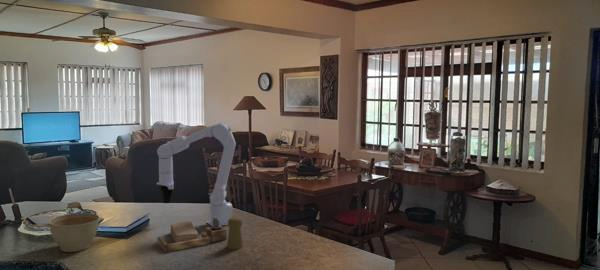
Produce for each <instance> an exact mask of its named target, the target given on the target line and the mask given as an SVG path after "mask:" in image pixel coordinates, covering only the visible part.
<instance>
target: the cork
mask: <svg viewBox="0 0 600 270" xmlns="http://www.w3.org/2000/svg"><path fill="white" fill-rule="evenodd" d="M242 225H243V219H242V218H241V217H237V216H233V217H232V218H230V219H229V220H228V225H227V226H228V227H229V230H228V236H227V244H226V248H227V249H228V250H241V249H243V247H244V242H243V235H242V227H241V226H242Z"/></svg>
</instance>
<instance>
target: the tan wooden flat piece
mask: <svg viewBox="0 0 600 270" xmlns="http://www.w3.org/2000/svg"><path fill="white" fill-rule="evenodd" d="M211 243H212V242H211V237H209V236H208V235H207V234H206V232H205V231H202V232H201V234H200V238H198V239H194V240H189V241H183V242H177V243H175V242H173V243H172V242H171V243H167V242H166V241H165V240H164V239H163V237H161V236H157V244H158V245H159V246H160V247H161V248H162V250H164V252H165V253H170V252H174V251H179V250H180V251H181V250H184V249H185V248H186V249H191V248H195V247H201V245H202V246H205V245H210V244H211ZM186 249H185V250H186Z"/></svg>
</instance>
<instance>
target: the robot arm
mask: <svg viewBox="0 0 600 270" xmlns="http://www.w3.org/2000/svg"><path fill="white" fill-rule="evenodd" d="M206 137H207V138H213V137H214V138H215V139H217V140H218V141H219V142H220V144H221V145H222V146H223V151H222V154H221V158H220V164H219V168H218V171H217V176H216V180H215V184H214V187H213V190H212V192H211V193H210V195H209V201H210V202H209V220H207V221H206V223H207V224H209V225H210V226H211V227H213V218H219V226H222V227H223V226H229V225H228V220H229V219H230V218H232V217H234V216H233V215H234V209H233V204H232V203H231V202H227V201H226V197H227V193H228V192H227V186H228V185H227V184H228V183H227V182H228V179H229V175H230V171H231V167H232V162H233V158H234V153H235V150H236V144H237V143H236V140H235V137H234V135H233V131H232V128H231V127H230V126H229V125H228V124H226V123H225V122H219V123H217V124H212V125H210V126H206V127H204V128H203V129H200V130H198V131H196V132H194V133H192V134H190V135H188V136H185V135H181V136H180V135H178V136H176V138H174V139H172V140H170V141H169V140H168V141H166V143H164V144H161V145H160V146H158V148H157V151H156V154H157V156H158V182H156V185H157V186H158V185H159V186H158V189H159V191H160V194H161V196H162V201H163V204H170V202H171V198H172V194H173V191H174V189H175V186H174V184H175V181H174V164H173V163H174V161H173V155H175V154H178V153H180V152H182V151H184V150H187V149H188V148H189V146H190V144H192V143H194V142H196V141H199V140H201V139H203V138H206Z"/></svg>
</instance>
